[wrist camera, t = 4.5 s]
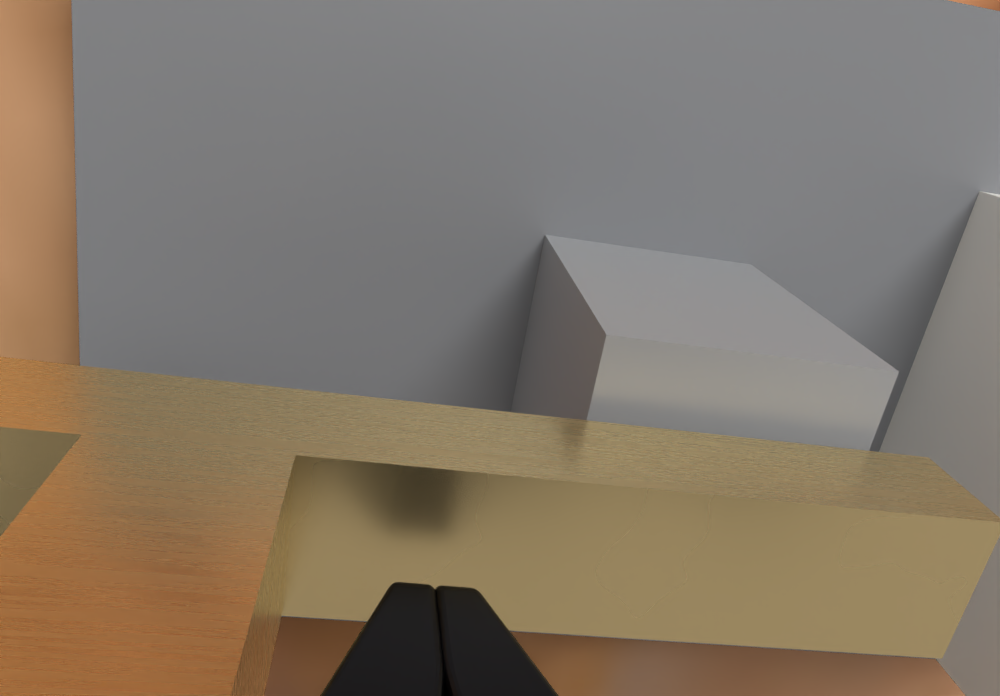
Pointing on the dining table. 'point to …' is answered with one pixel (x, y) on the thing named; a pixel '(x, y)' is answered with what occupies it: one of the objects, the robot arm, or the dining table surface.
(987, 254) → the white rectangular block
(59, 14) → the dining table surface
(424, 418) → the latch bolt
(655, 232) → the base plate
